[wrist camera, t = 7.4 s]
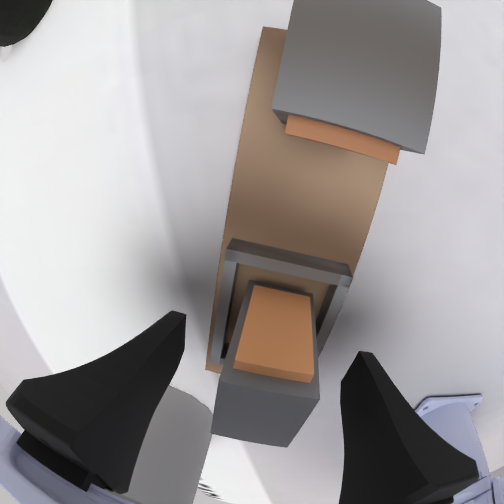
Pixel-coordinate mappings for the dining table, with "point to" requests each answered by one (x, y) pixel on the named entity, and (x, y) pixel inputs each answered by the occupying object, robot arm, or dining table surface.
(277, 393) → the block
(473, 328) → the dining table surface
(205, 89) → the dining table surface
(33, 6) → the sushi
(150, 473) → the cup
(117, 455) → the robot arm
